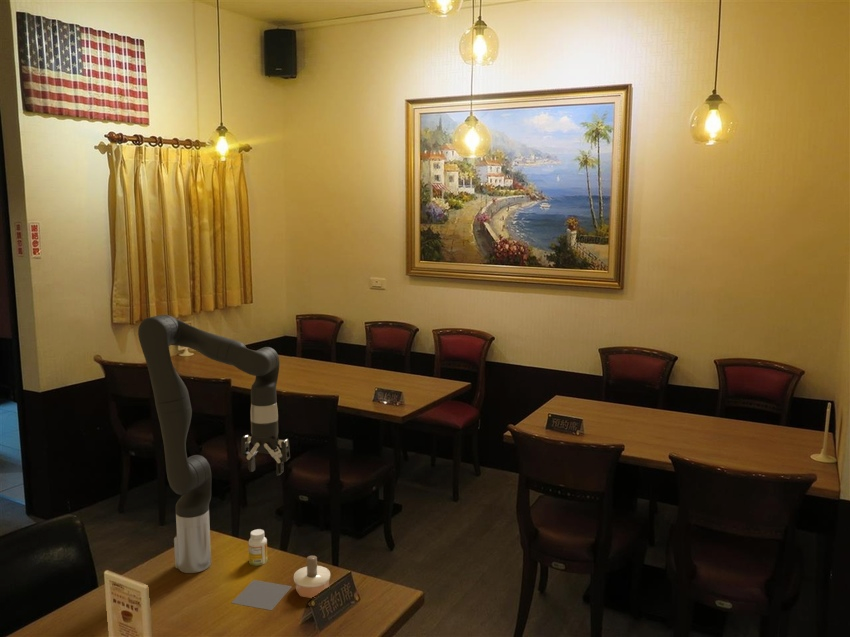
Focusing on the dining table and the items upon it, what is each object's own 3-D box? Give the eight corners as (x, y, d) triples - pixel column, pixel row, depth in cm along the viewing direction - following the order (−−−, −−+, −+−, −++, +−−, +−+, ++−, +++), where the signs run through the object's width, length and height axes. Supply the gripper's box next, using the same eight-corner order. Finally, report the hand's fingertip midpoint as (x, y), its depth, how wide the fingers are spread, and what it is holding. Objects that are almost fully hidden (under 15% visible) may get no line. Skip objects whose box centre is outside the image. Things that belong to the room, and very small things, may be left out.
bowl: (292, 596, 190) (291, 583, 189) (305, 580, 198) (305, 567, 197) (320, 601, 188) (320, 587, 187) (332, 585, 196) (332, 572, 195)
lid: (287, 584, 189) (287, 564, 188) (303, 565, 198) (302, 547, 197) (321, 589, 186) (321, 569, 185) (335, 571, 196) (335, 552, 195)
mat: (231, 604, 186) (231, 602, 186) (253, 581, 197) (253, 579, 197) (271, 612, 183) (271, 610, 183) (292, 588, 194) (292, 586, 194)
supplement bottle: (260, 556, 211) (259, 526, 210) (271, 562, 208) (270, 531, 207) (245, 563, 207) (244, 532, 206) (256, 569, 204) (255, 538, 202)
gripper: (234, 419, 194) (236, 474, 197) (281, 424, 190) (282, 480, 193) (248, 412, 201) (250, 465, 204) (293, 416, 198) (294, 470, 200)
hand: (265, 472), depth 199 cm, fingers open, 8 cm apart
